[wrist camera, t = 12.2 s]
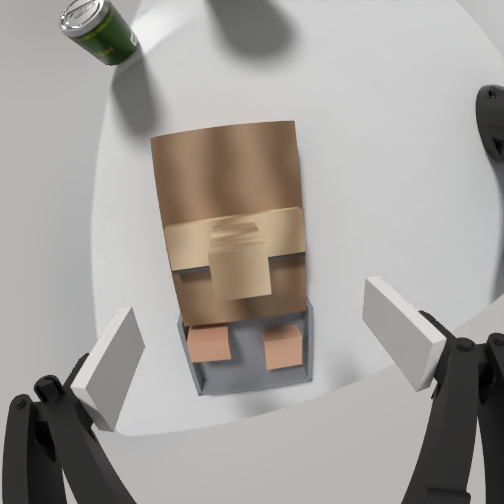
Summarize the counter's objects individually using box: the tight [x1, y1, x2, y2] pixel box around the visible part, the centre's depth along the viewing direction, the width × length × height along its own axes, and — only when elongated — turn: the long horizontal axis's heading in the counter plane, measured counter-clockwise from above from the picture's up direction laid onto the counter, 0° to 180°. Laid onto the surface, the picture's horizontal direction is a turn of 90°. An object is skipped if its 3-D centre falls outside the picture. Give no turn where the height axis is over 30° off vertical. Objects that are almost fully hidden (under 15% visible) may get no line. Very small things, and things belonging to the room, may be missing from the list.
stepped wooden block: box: [164, 207, 306, 302], centre depth 25 cm, size 14×5×11 cm, turn 97°
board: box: [150, 121, 306, 326], centre depth 31 cm, size 15×22×4 cm
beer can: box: [59, 0, 138, 66], centre depth 19 cm, size 5×5×12 cm
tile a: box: [261, 324, 302, 370], centre depth 37 cm, size 5×5×3 cm
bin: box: [177, 296, 313, 396], centre depth 37 cm, size 17×13×4 cm
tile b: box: [187, 322, 231, 363], centre depth 35 cm, size 5×5×3 cm
